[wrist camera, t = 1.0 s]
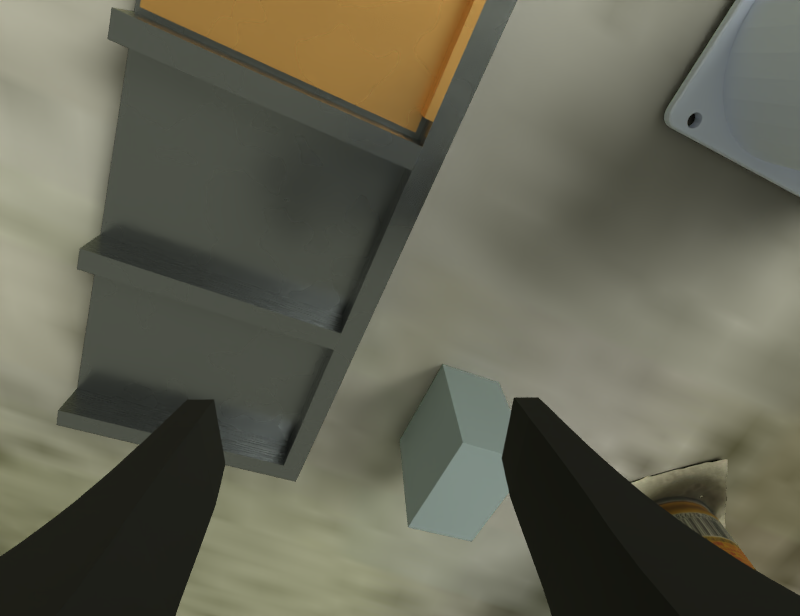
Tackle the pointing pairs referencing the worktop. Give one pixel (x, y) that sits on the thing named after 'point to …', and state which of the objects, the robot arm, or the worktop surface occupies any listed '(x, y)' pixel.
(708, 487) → the condiment
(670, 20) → the worktop surface
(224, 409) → the tray
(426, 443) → the pale blue block
